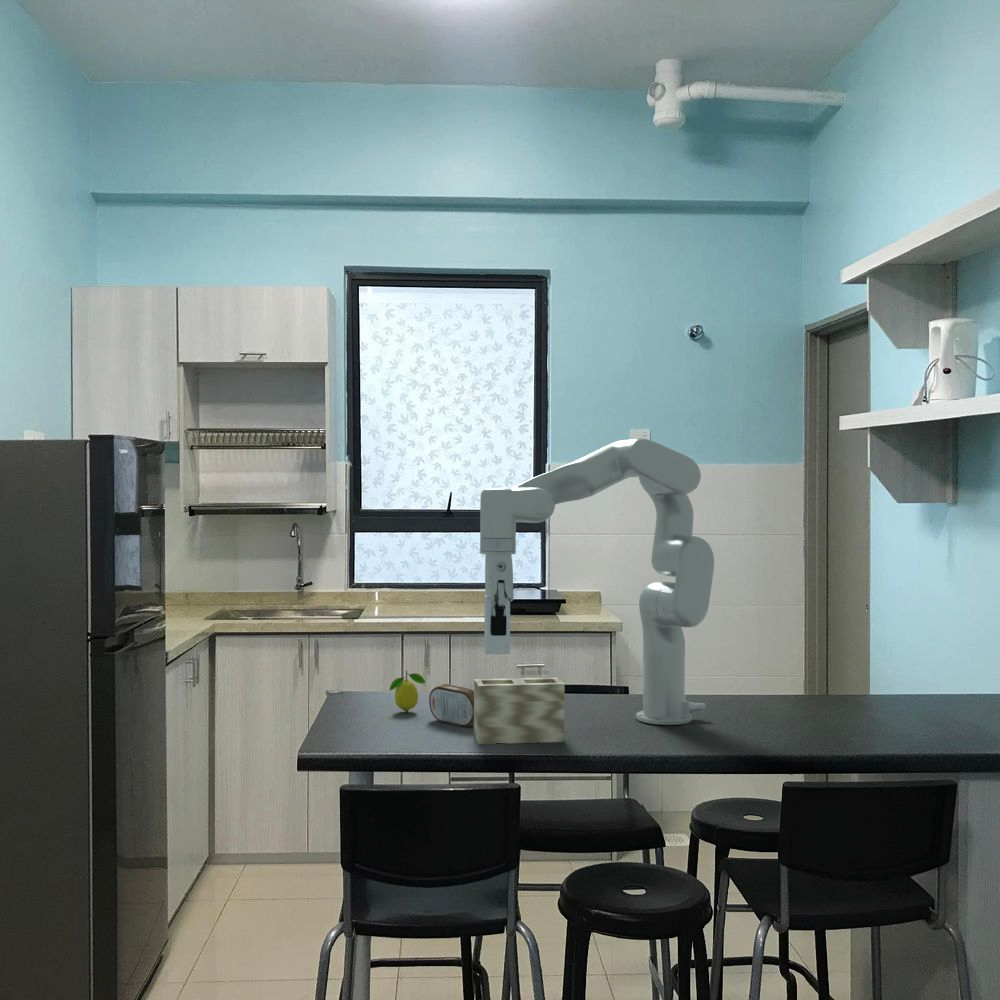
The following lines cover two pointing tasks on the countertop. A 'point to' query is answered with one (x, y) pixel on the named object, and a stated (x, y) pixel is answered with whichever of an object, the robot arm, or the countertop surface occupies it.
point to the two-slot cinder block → (518, 710)
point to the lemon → (406, 691)
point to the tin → (453, 704)
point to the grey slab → (496, 642)
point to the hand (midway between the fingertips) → (497, 633)
